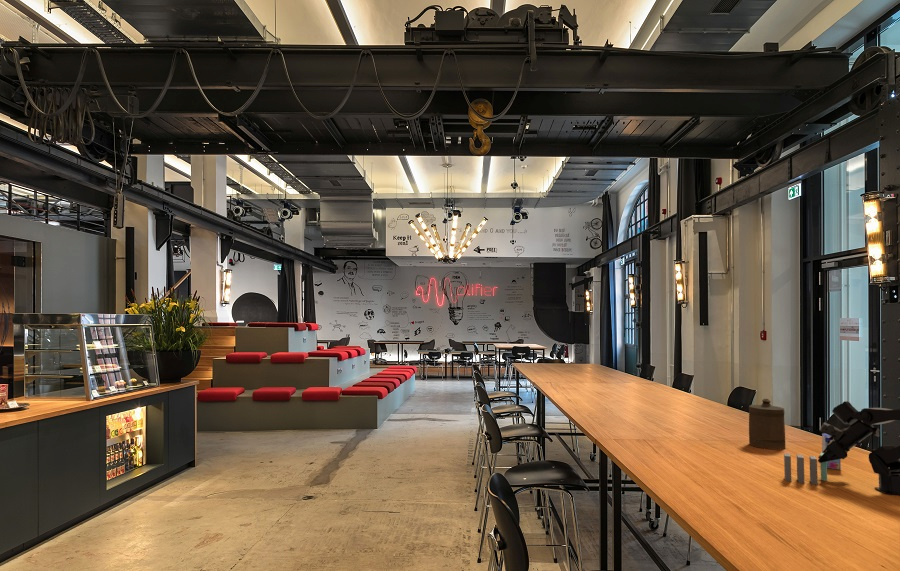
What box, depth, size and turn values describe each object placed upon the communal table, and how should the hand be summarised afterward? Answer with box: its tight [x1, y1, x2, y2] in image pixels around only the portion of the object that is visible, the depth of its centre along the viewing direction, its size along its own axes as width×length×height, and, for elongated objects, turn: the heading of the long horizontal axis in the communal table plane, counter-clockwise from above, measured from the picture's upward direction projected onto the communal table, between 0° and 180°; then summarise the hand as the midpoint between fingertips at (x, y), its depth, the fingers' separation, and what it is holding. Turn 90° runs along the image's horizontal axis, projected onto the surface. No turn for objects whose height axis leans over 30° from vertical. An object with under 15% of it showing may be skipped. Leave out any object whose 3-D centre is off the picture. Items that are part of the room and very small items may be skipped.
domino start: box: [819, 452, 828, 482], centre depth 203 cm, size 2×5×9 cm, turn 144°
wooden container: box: [748, 398, 787, 450], centre depth 258 cm, size 15×15×22 cm
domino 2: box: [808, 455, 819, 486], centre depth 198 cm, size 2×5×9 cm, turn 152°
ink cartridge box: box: [821, 433, 842, 471], centre depth 222 cm, size 10×6×14 cm, turn 152°
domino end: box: [783, 452, 792, 482], centre depth 202 cm, size 2×5×9 cm, turn 152°
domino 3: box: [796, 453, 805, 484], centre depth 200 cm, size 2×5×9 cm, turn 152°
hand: (819, 460), depth 204 cm, fingers open, 6 cm apart
